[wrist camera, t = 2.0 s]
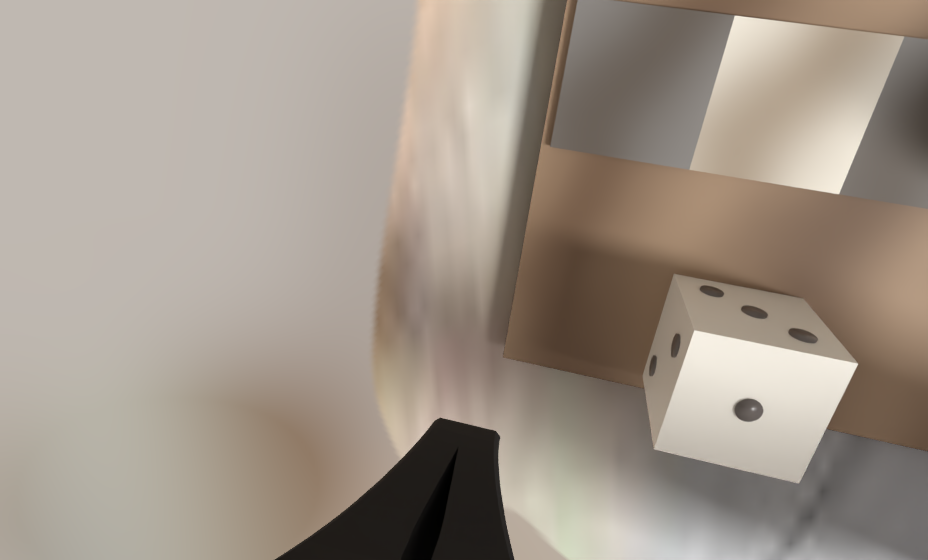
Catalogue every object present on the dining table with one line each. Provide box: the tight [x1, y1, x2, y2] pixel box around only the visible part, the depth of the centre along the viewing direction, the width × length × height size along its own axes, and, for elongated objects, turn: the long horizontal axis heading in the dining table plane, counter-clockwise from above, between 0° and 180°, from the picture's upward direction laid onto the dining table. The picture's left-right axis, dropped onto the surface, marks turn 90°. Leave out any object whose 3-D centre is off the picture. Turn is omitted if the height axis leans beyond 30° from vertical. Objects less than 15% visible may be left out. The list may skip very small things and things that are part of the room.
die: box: [643, 274, 858, 484], centre depth 17 cm, size 4×4×4 cm
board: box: [503, 0, 928, 451], centre depth 16 cm, size 20×16×1 cm
